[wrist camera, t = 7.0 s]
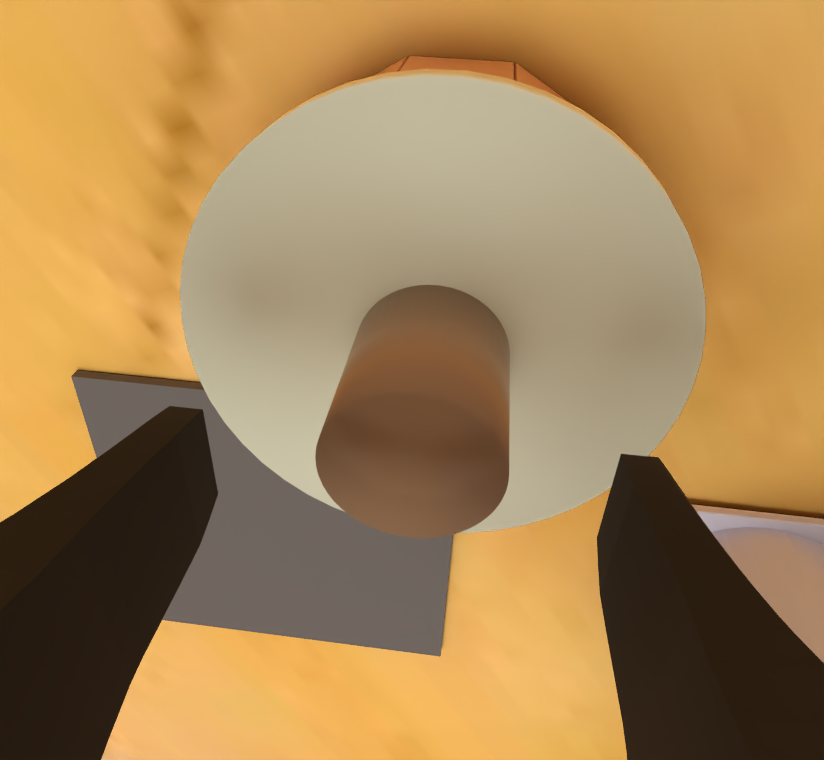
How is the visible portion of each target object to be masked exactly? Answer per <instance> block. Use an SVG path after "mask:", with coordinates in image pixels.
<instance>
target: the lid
mask: <svg viewBox="0 0 824 760" xmlns="http://www.w3.org/2000/svg"><path fill="white" fill-rule="evenodd" d="M180 300H181V316H182V324H183V329H184V334H185V339H186V343H187V348H188V351H189V354H190V357H191V360H192V362H193V365H194V368H195V371H196V374H197V376H198V378H199V380H200V382H201V384H202V386H203V388H204V390H205V392H206V394H207V396H208V398H209V400H210V401H211V403H212V404H213V406H214V407H215V409H216V410H217V412H218V413H219V415H220V416H221V418H222V419H223V421H224V422H225V424H226V425H227V426H228V427H229V428H230V430H231V431H232V432H233V433H234V434H235V435H236V437H237V438H238V439H239V440H240V441H241V443H242V444H243V445H244V446H245V447H246V448H247V449H248V450H250V451H251V452H252V453H253V454H254V455H255V456H256V457H257V458H258V459H259V460H260V461H261V462H262V463H263V464H265V465H266V466H267V467H268V468H270V469H271V470H272V471H274V472H275V473H276V474H277V475H279V476H280V477H281V478H283V479H284V480H285V481H287V482H289V483H290V484H292V485H293V486H295V487H297V488H298V489H300V490H301V491H303V492H305V493H306V494H308V495H310V496H312V497H314V498H316V499H318V500H320V501H322V502H324V503H326V504H328V505H330V506H332V507H334V508H337V509H339V510H342V511H344V512H346V513H347V514H349V515H350V516H351V517H353V518H355V519H356V520H358V521H359V522H361V523H363V524H365V525H367V526H369V527H371V528H374V529H377V530H379V531H382V532H385V533H389V534H392V535H397V536H403V537H411V538H435V537H442V536H448V535H452V534H456V533H472V532H484V531H495V530H501V529H507V528H512V527H518V526H523V525H526V524H530V523H534V522H537V521H541V520H544V519H548V518H551V517H553V516H556V515H558V514H561V513H563V512H566V511H568V510H571V509H574V508H576V507H578V506H580V505H581V504H583V503H585V502H587V501H589V500H591V499H593V498H595V497H597V496H599V495H600V494H602V493H603V492H605V491H606V490H608V489H609V488H611V487H612V483H613V480H614V476H615V473H616V469H617V466H618V462H619V459H620V455H621V454H629V455H639V456H649V455H650V454H651V453H652V451H653V450H654V449H655V448H656V447H657V446H658V445H659V444H660V443H661V441H662V440H663V439H664V438H665V436H666V435H667V433H668V432H669V430H670V429H671V427H672V426H673V424H674V423H675V421H676V420H677V418H678V417H679V415H680V413H681V411H682V409H683V407H684V405H685V403H686V401H687V399H688V397H689V395H690V393H691V391H692V388H693V385H694V382H695V379H696V376H697V373H698V369H699V366H700V363H701V359H702V352H703V345H704V339H705V332H706V307H705V293H704V288H703V282H702V276H701V271H700V265H699V262H698V260H697V257H696V254H695V251H694V248H693V245H692V242H691V240H690V237H689V234H688V232H687V230H686V228H685V226H684V224H683V222H682V221H681V219H680V217H679V215H678V213H677V211H676V209H675V208H674V206H673V204H672V202H671V200H670V198H669V197H668V195H667V193H666V191H665V189H664V187H663V186H662V185H661V183H660V182H659V181H658V179H657V178H656V177H655V176H654V174H653V173H652V172H651V170H650V169H649V168H648V166H647V165H646V164H645V162H644V161H643V160H642V159H641V157H640V156H638V155H637V154H636V153H635V152H634V151H633V150H632V149H631V148H630V147H629V146H628V145H627V144H626V143H625V142H624V141H623V140H622V139H621V138H620V137H619V136H618V135H617V134H616V133H614V132H613V131H612V130H611V129H609V128H608V127H606V126H605V125H603V124H602V123H601V122H599V121H598V120H596V119H595V118H594V117H592V116H591V115H589V114H588V113H586V112H585V111H584V110H582V109H580V108H578V107H576V106H575V105H573V104H571V103H569V102H567V101H565V100H563V99H561V98H559V97H557V96H555V95H553V94H551V93H549V92H547V91H544V90H541V89H539V88H536V87H533V86H530V85H527V84H524V83H521V82H518V81H515V80H512V79H509V78H505V77H500V76H494V75H489V74H483V73H478V72H473V71H467V70H445V69H418V70H408V71H398V72H389V73H383V74H379V75H375V76H371V77H367V78H363V79H359V80H355V81H351V82H347V83H345V84H343V85H340V86H338V87H335V88H333V89H330V90H328V91H326V92H323V93H321V94H318V95H316V96H314V97H312V98H310V99H308V100H307V101H305V102H303V103H302V104H300V105H298V106H297V107H295V108H293V109H292V110H290V111H288V112H287V113H285V114H283V115H282V116H281V117H279V118H278V119H277V120H276V121H275V122H273V123H272V124H271V125H270V126H269V127H267V128H266V129H265V130H264V131H263V132H261V133H260V134H259V135H258V136H257V137H255V138H254V139H253V140H252V141H251V142H250V143H249V144H248V145H246V146H245V147H244V148H243V149H242V150H241V151H240V152H239V154H238V155H237V156H236V157H235V158H234V159H233V160H232V162H231V163H230V164H229V165H228V166H227V167H226V168H225V170H224V171H223V172H222V173H221V174H220V175H219V177H218V179H217V180H216V182H215V183H214V185H213V187H212V188H211V190H210V191H209V193H208V195H207V196H206V198H205V199H204V201H203V203H202V205H201V207H200V209H199V212H198V214H197V216H196V219H195V221H194V224H193V226H192V228H191V231H190V234H189V238H188V242H187V246H186V250H185V254H184V258H183V262H182V274H181V285H180Z"/></svg>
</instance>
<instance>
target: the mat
mask: <svg viewBox="0 0 824 760" xmlns="http://www.w3.org/2000/svg"><path fill="white" fill-rule="evenodd" d="M71 377H72V380H73V383H74V386H75V390H76V393H77V396H78V399H79V402H80V406H81V409H82V412H83V415H84V418H85V421H86V425H87V428H88V431H89V434H90V437H91V441H92V444H93V447H94V450H95V453H96V457H97V458H98V457H99V456H101V455H102V454H104V453H105V452H106V451H108V450H109V449H110V448H112V447H113V446H115V445H116V444H117V443H119V442H120V441H121V440H123V439H124V438H125V437H127V436H128V435H130V434H131V433H132V432H134V431H135V430H136V429H138V428H139V427H140V426H142V425H143V424H145V423H146V422H147V421H149V420H150V419H151V418H153V417H154V416H156V415H157V414H158V413H160V412H161V411H163V410H164V409H166V408H167V407H169V406H175V407H185V408H194V409H203V413H204V418H205V424H206V429H207V435H208V440H209V446H210V451H211V457H212V462H213V468H214V473H215V479H216V484H217V490H218V496H217V499H216V502H215V505H214V508H213V511H212V514H211V517H210V520H209V523H208V525H207V528H206V531H205V533H204V536H203V539H202V541H201V544H200V546H199V548H198V550H197V552H196V554H195V556H194V558H193V560H192V562H191V564H190V566H189V568H188V570H187V572H186V574H185V576H184V578H183V580H182V582H181V584H180V586H179V588H178V590H177V592H176V594H175V596H174V598H173V600H172V601H171V603H170V605H169V607H168V609H167V611H166V613H165V615H164V617H163V619H162V620H167V621H175V622H182V623H190V624H198V625H205V626H213V627H220V628H228V629H236V630H243V631H251V632H259V633H266V634H274V635H281V636H289V637H297V638H304V639H312V640H319V641H327V642H335V643H342V644H350V645H358V646H365V647H373V648H380V649H388V650H396V651H403V652H411V653H419V654H426V655H434V656H441V646H442V636H443V627H444V617H445V607H446V597H447V588H448V578H449V568H450V559H451V549H452V539H453V534H452V535H448V536H442V537H435V538H411V537H403V536H397V535H392V534H389V533H385V532H382V531H379V530H377V529H374V528H371V527H369V526H367V525H365V524H363V523H361V522H359V521H358V520H356V519H355V518H353V517H351V516H350V515H349V514H347V513H346V512H344V511H342V510H339V509H337V508H334V507H332V506H330V505H328V504H326V503H324V502H322V501H320V500H318V499H316V498H314V497H312V496H310V495H308V494H306V493H305V492H303V491H301V490H300V489H298V488H297V487H295V486H293V485H292V484H290V483H289V482H287V481H285V480H284V479H283V478H281V477H280V476H279V475H277V474H276V473H275V472H274V471H272V470H271V469H270V468H268V467H267V466H266V465H265V464H263V463H262V462H261V461H260V460H259V459H258V458H257V457H256V456H255V455H254V454H253V453H252V452H251V451H250V450H248V449H247V448H246V447H245V446H244V445H243V444H242V443H241V441H240V440H239V439H238V438H237V437H236V435H235V434H234V433H233V432H232V431H231V430H230V428H229V427H228V426H227V425H226V424H225V422H224V421H223V419H222V418H221V416H220V415H219V413H218V412H217V410H216V409H215V407H214V406H213V404H212V403H211V401H210V400H209V398H208V396H207V394H206V392H205V390H204V388H203V386H202V384H201V383H198V382H188V381H178V380H169V379H159V378H149V377H139V376H129V375H120V374H110V373H100V372H90V371H80V370H77V371H76V372H75V373H74V374H73V375H72V376H71Z"/></svg>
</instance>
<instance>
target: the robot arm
mask: <svg viewBox="0 0 824 760" xmlns="http://www.w3.org/2000/svg"><path fill="white" fill-rule="evenodd" d="M217 496H218V490H217V484H216V479H215V473H214V468H213V462H212V457H211V451H210V446H209V440H208V435H207V429H206V424H205V418H204V413H203V409H194V408H185V407H175V406H169V407H167V408H166V409H164V410H163V411H161V412H160V413H158V414H157V415H156V416H154V417H153V418H151V419H150V420H149V421H147V422H146V423H145V424H143V425H142V426H140V427H139V428H138V429H136V430H135V431H134V432H132V433H131V434H130V435H128V436H127V437H125V438H124V439H123V440H121V441H120V442H119V443H117V444H116V445H115V446H113V447H112V448H110V449H109V450H108V451H106V452H105V453H104V454H102V455H101V456H99V457H98V458H97V459H95V460H94V461H92V462H91V463H90V464H88V465H87V466H85V467H84V468H83V469H81V470H80V471H78V472H77V473H76V474H74V475H73V476H71V477H70V478H68V479H67V480H65V481H64V482H62V483H61V484H59V485H58V486H56V487H55V488H53V489H52V490H50V491H49V492H47V493H46V494H44V495H43V496H41V497H39V498H38V499H36V500H35V501H33V502H32V503H30V504H29V505H27V506H26V507H24V508H23V509H21V510H20V511H18V512H17V513H15V514H14V515H12V516H10V517H9V518H7V519H5V520H4V521H2V522H0V760H101V758H102V755H103V753H104V750H105V747H106V744H107V742H108V739H109V737H110V734H111V731H112V729H113V726H114V724H115V721H116V719H117V716H118V714H119V711H120V709H121V706H122V704H123V701H124V699H125V696H126V694H127V691H128V689H129V686H130V684H131V681H132V679H133V677H134V675H135V673H136V671H137V668H138V666H139V664H140V662H141V660H142V658H143V656H144V654H145V652H146V650H147V648H148V646H149V644H150V642H151V640H152V638H153V636H154V634H155V632H156V630H157V629H158V627H159V625H160V623H161V621H162V619H163V617H164V615H165V613H166V611H167V609H168V607H169V605H170V603H171V601H172V600H173V598H174V596H175V594H176V592H177V590H178V588H179V586H180V584H181V582H182V580H183V578H184V576H185V574H186V572H187V570H188V568H189V566H190V564H191V562H192V560H193V558H194V556H195V554H196V552H197V550H198V548H199V546H200V544H201V541H202V539H203V536H204V533H205V531H206V528H207V525H208V523H209V520H210V517H211V514H212V511H213V508H214V505H215V502H216V499H217ZM597 547H598V570H599V586H600V597H601V603H602V609H603V615H604V620H605V626H606V632H607V638H608V643H609V649H610V654H611V660H612V665H613V671H614V677H615V682H616V688H617V693H618V699H619V704H620V710H621V716H622V721H623V728H624V735H625V743H626V750H627V760H824V519H820V518H811V517H802V516H793V515H784V514H775V513H766V512H756V511H747V510H738V509H729V508H720V507H711V506H702V505H693V504H691V503H690V502H689V500H688V499H687V497H686V496H685V494H684V493H683V492H682V490H681V489H680V487H679V486H678V484H677V483H676V481H675V480H674V478H673V477H672V476H671V474H670V473H669V471H668V470H667V468H666V467H665V466H664V464H663V463H662V462H661V460H660V459H659V458H658V457H648V456H639V455H629V454H621V455H620V459H619V462H618V466H617V469H616V473H615V476H614V480H613V483H612V487H611V490H610V494H609V497H608V501H607V505H606V508H605V512H604V515H603V519H602V522H601V526H600V529H599V533H598V536H597Z"/></svg>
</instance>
